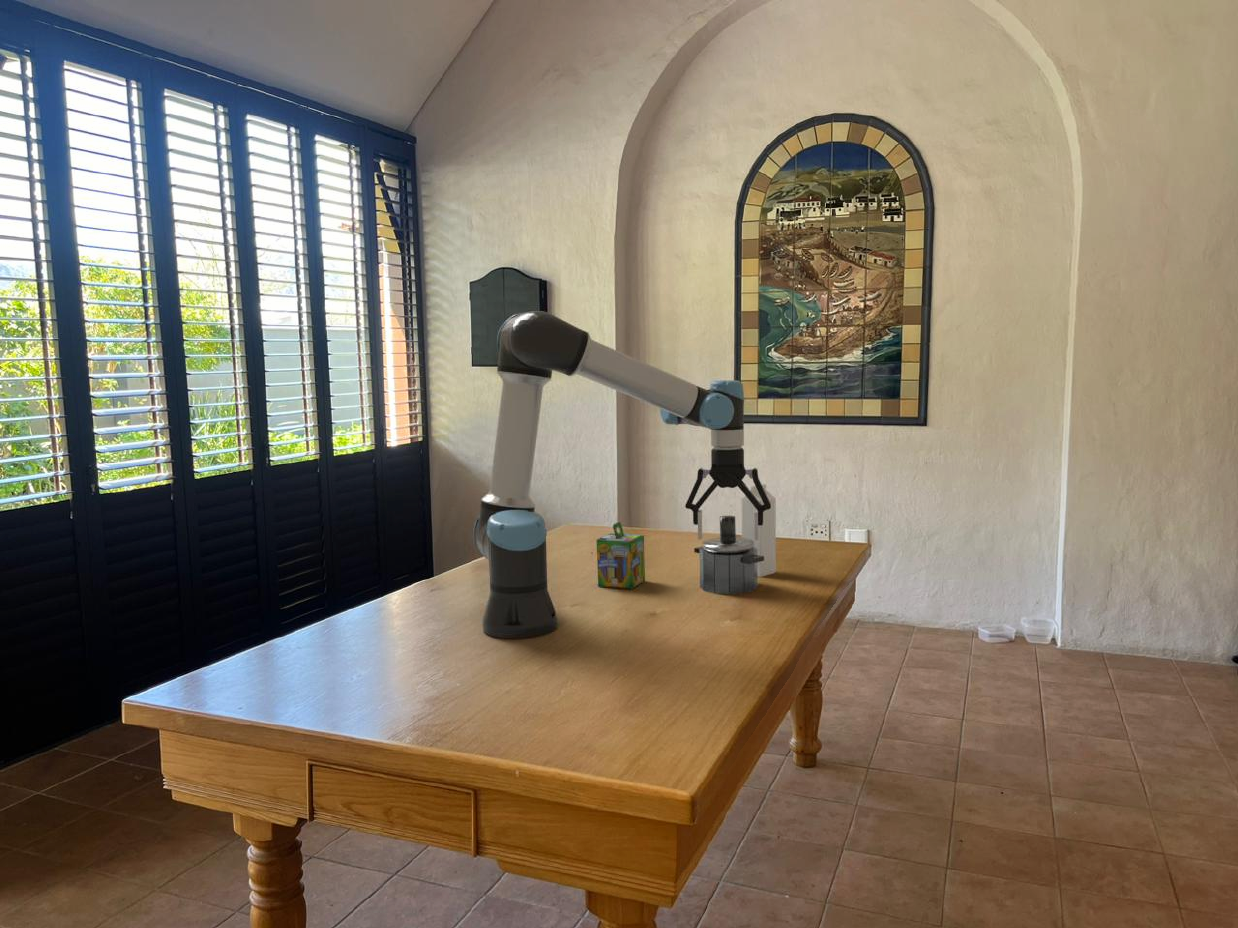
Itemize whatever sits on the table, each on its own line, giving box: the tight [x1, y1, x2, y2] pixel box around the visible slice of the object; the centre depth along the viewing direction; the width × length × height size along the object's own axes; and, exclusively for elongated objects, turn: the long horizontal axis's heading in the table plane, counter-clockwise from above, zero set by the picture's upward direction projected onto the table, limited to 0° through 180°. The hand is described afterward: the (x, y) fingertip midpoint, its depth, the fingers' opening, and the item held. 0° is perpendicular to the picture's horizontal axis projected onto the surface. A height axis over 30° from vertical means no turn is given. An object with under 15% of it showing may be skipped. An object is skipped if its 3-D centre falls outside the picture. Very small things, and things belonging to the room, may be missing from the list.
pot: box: [693, 545, 764, 595], centre depth 220 cm, size 13×18×9 cm
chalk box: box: [596, 521, 646, 590], centre depth 225 cm, size 9×9×15 cm
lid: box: [701, 515, 754, 554], centre depth 219 cm, size 12×12×8 cm
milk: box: [741, 483, 777, 578], centre depth 232 cm, size 6×6×22 cm
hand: (728, 538), depth 219 cm, fingers open, 12 cm apart
